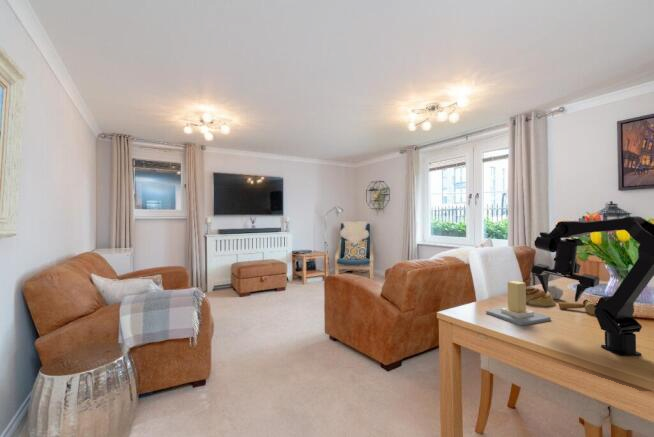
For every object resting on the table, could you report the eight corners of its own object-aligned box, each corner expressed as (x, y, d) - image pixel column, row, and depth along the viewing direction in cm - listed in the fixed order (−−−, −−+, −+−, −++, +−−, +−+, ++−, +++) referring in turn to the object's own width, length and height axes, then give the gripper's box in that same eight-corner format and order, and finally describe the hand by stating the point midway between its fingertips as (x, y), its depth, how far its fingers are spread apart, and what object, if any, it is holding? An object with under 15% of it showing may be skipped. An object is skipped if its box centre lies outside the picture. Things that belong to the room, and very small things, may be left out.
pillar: (526, 314, 121) (525, 283, 121) (518, 316, 119) (517, 284, 119) (516, 311, 125) (515, 280, 125) (508, 312, 124) (507, 281, 124)
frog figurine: (544, 297, 150) (543, 283, 150) (560, 297, 148) (559, 283, 148) (549, 300, 144) (549, 286, 144) (566, 301, 142) (566, 286, 142)
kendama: (561, 314, 128) (618, 315, 118) (558, 299, 129) (614, 299, 120) (559, 313, 134) (613, 313, 125) (556, 298, 136) (609, 297, 126)
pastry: (510, 299, 148) (510, 283, 148) (540, 298, 148) (540, 282, 148) (528, 307, 135) (528, 289, 135) (561, 306, 135) (561, 289, 135)
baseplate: (550, 320, 117) (550, 313, 117) (521, 325, 112) (520, 318, 112) (513, 308, 132) (513, 302, 132) (486, 313, 127) (486, 307, 127)
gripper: (607, 258, 102) (601, 301, 104) (545, 247, 118) (541, 285, 120) (596, 263, 96) (590, 308, 98) (532, 251, 112) (528, 290, 114)
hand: (560, 297), depth 108 cm, fingers open, 9 cm apart
